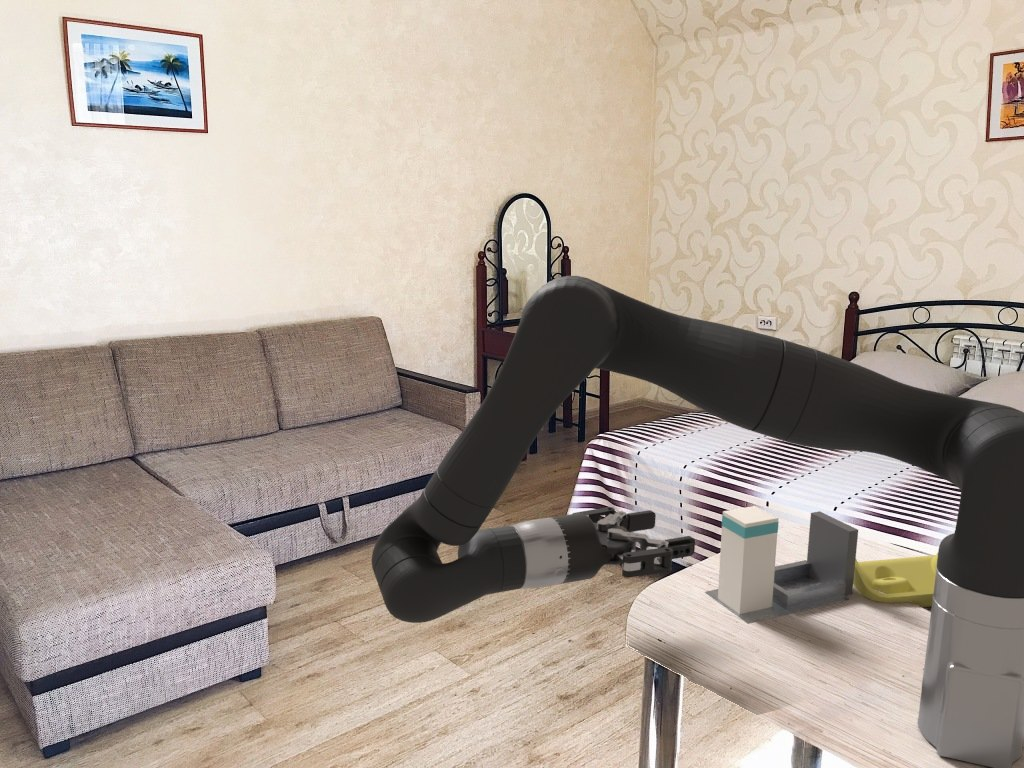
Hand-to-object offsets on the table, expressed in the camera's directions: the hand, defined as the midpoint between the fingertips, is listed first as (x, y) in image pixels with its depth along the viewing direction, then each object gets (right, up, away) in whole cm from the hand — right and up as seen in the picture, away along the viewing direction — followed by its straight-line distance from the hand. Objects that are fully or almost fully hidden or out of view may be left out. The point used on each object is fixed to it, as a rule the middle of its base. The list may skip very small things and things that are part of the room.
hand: (672, 531), depth 102 cm
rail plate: (+15, -11, +9) cm, 21 cm away
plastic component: (+36, -11, +12) cm, 39 cm away
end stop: (+23, -11, +12) cm, 28 cm away
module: (+10, -10, +7) cm, 16 cm away
